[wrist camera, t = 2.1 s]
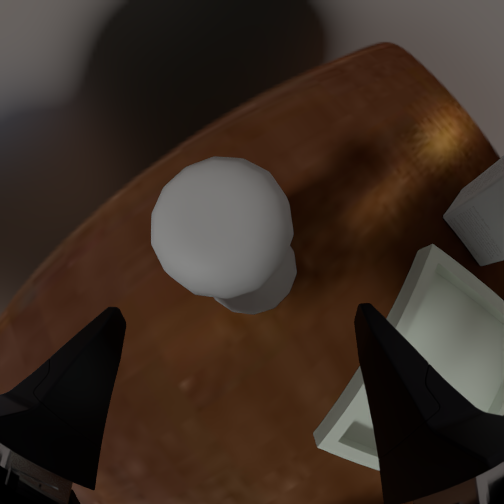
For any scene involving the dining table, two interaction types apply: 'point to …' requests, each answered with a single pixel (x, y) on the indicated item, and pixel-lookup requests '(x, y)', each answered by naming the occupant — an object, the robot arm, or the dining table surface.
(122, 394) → the dining table surface
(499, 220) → the skincare box
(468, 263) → the dining table surface
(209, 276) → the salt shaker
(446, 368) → the tray
